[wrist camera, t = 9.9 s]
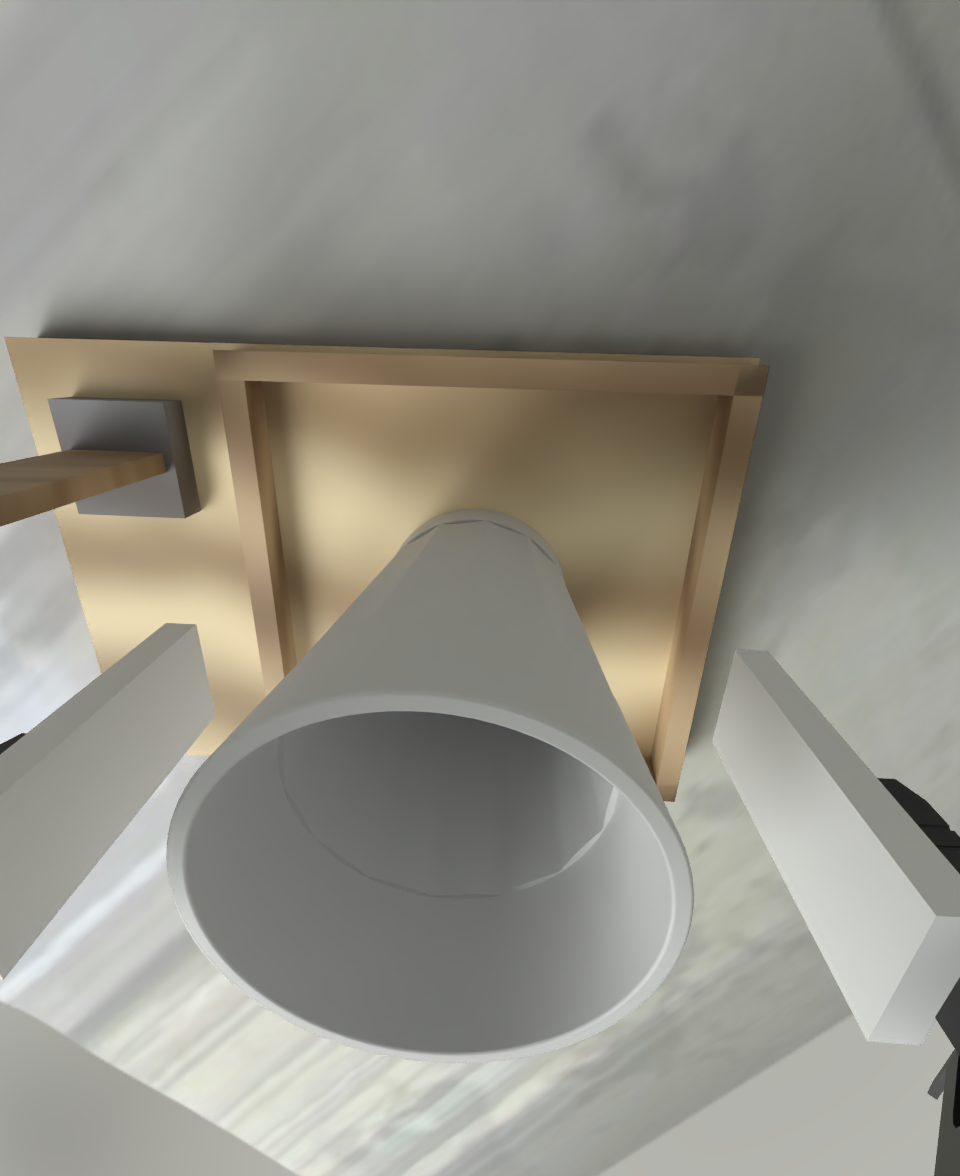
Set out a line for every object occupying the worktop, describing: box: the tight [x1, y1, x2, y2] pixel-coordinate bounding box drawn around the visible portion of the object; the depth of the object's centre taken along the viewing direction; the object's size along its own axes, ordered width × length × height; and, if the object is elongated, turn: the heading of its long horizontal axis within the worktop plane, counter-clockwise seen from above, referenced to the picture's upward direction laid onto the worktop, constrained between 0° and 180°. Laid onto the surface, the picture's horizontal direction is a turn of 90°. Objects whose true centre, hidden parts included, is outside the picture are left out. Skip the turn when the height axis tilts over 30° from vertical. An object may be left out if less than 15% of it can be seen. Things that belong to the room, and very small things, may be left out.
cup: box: [166, 509, 694, 1063], centre depth 14 cm, size 8×8×12 cm
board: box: [0, 337, 770, 802], centre depth 15 cm, size 16×23×11 cm
